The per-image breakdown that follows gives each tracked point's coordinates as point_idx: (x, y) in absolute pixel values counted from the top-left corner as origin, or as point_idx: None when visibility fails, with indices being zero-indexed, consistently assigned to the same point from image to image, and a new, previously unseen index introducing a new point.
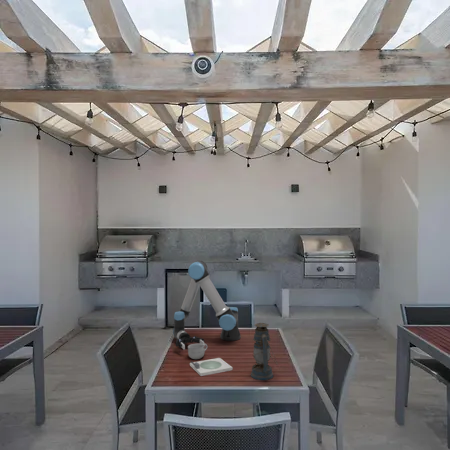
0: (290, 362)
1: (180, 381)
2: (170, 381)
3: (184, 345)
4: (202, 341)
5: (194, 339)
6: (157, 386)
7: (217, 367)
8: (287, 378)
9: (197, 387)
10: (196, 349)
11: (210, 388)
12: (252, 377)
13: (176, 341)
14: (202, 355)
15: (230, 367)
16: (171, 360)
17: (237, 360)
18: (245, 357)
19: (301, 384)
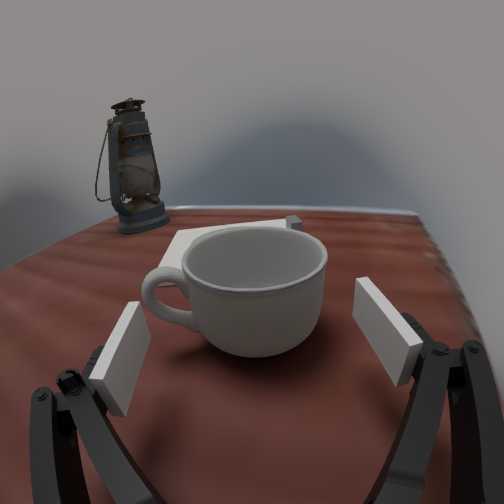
0: (38, 251)
1: (351, 219)
2: (378, 220)
3: (359, 280)
4: (123, 323)
5: (138, 475)
6: (403, 214)
7: (222, 229)
8: (118, 219)
9: (309, 208)
10: (267, 234)
11: (281, 206)
12: (169, 219)
13: (494, 389)
14: (227, 285)
15: (183, 230)
16: (430, 319)
17: (103, 275)
18: (60, 285)
19: None
